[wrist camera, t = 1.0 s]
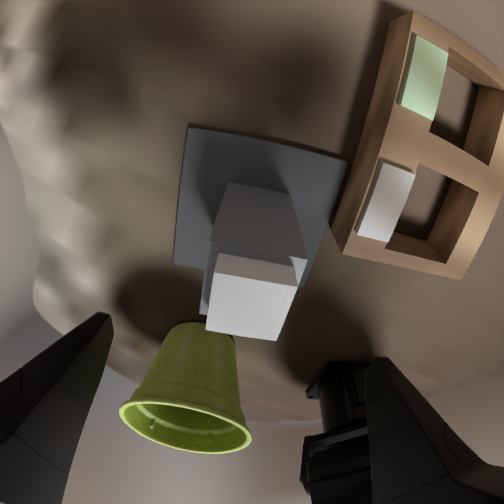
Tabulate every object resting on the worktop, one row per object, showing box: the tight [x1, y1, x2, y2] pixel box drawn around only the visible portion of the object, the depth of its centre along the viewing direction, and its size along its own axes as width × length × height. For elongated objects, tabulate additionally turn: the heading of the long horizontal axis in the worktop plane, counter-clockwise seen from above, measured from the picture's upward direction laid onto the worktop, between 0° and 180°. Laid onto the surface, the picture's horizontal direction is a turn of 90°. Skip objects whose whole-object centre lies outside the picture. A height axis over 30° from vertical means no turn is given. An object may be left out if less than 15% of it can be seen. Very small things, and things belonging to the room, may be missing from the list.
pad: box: [174, 127, 348, 288], centre depth 17 cm, size 9×9×1 cm
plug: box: [199, 182, 308, 341], centre depth 13 cm, size 4×4×8 cm
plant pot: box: [119, 322, 252, 454], centre depth 20 cm, size 9×9×9 cm
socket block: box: [331, 11, 504, 280], centre depth 13 cm, size 14×10×3 cm
